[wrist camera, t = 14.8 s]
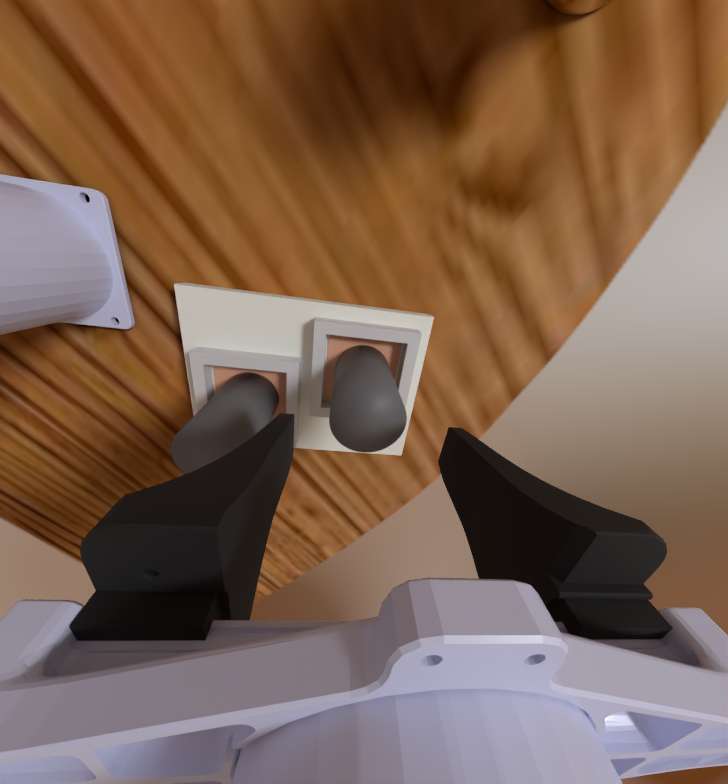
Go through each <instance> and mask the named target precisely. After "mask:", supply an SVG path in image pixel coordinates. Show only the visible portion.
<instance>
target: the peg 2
mask: <svg viewBox="0 0 728 784" xmlns="http://www.w3.org/2000/svg"><path fill="white" fill-rule="evenodd" d="M406 422H407V415H406V410H405V407H404V404H403V401H402V399H401V396H400V394H399V391H398V388H397V386H396V383H395V380H394V378H393V375H392V373H391V370H390V367H389V365H388V362H387V360H386V358H385V356H384V355H383V354H382V353H381V352H380V351H379V350H378V349H376V348H374V347H371V346H368V345H357V346H353V347H351V348H348V349H347V350H345V351H344V352H343V353H342V354H341V355H340V356H339V358H338V360H337V362H336V365H335V372H334V381H333V390H332V399H331V407H330V416H329V424H330V429H331V432H332V434H333V436H334V437H335V438H336V440H337V441H338V442H339V443H340V444H342V445H343V446H345V447H346V448H348V449H351V450H353V451H357V452H376V451H380V450H383V449H385V448H387V447H389V446H391V445H392V444H393V443H395V442H396V441H397V440H398V439H399V437H400V436H401V435H402V433H403V431H404V429H405V426H406Z"/></svg>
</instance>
